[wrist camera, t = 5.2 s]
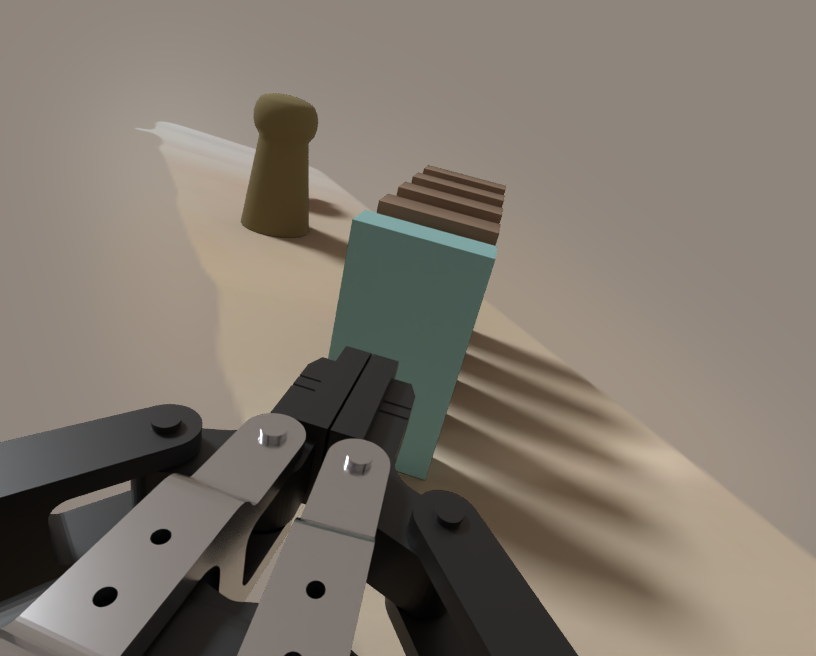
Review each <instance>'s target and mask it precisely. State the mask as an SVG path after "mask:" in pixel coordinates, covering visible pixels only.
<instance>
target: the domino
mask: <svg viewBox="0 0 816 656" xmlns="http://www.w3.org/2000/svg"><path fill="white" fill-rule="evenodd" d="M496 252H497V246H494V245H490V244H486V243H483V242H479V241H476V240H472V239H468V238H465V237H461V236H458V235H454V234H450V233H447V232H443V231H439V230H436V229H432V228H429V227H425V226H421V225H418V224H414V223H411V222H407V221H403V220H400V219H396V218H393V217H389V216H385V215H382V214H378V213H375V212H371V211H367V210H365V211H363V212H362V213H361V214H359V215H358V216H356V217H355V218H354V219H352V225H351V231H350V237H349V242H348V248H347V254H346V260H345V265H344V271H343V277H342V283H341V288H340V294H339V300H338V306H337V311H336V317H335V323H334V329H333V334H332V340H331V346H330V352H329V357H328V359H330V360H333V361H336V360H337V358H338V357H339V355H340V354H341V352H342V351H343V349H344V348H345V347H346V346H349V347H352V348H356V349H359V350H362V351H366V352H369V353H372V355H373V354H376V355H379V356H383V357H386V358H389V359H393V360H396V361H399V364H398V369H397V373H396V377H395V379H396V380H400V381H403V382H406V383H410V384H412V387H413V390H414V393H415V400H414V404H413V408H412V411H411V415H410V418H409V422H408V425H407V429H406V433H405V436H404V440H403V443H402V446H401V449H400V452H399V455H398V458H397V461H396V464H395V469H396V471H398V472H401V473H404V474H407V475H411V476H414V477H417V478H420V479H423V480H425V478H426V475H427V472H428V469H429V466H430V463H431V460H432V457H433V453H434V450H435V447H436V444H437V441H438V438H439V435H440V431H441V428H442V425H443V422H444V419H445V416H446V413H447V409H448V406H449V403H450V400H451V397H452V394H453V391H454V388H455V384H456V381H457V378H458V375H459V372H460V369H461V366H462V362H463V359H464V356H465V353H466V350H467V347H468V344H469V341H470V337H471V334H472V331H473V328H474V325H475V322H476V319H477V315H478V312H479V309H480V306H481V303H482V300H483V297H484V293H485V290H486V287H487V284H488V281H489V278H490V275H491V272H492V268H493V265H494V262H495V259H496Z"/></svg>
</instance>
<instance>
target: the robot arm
mask: <svg viewBox="0 0 816 656" xmlns="http://www.w3.org/2000/svg"><path fill="white" fill-rule="evenodd" d="M398 364H399V361H396V360H393V359H389V358H386V357H383V356H379V355H376V354H373V355H372V353H369V352H366V351H362V350H359V349H356V348H352V347H349V346H346V347H345V348H344V349H343V351H342V352H341V354H340V355H339V357H338V358H337V360H336V361H333V360H330V359H327V358H323V357H322V358H320V359H318V360H316V361H314V362H312V363H310V364H308V365H307V367H306V368H305V369H304V370H303V372H302V373H301V374H300V377H298V378H297V379H296V381H295V382H294V383H293V385H292V386H291V387H290V388H289V390H288V391H287V392H286V393H285V395H284V396H283V397H282V398H281V400H280V401H279V402H278V404H277V405H276V406H275V407H274V409H273V410H272V411H271V413H267V414H261V415H257V416H255V417H252V418H251V419H249V420H248V421H246V422H245V423H244V424H243V425H242V426H241V427H240V428H239V429H238V430H216V429H203V428H202V419H201V417H200V415H199V414H198V413H197V412H196V411H194V410H193V409H191V408H188V407H186V406H182V405H175V404H166V405H158V406H153V407H149V408H144V409H140V410H136V411H132V412H128V413H123V414H119V415H114V416H110V417H106V418H102V419H97V420H94V421H89V422H85V423H81V424H76V425H72V426H68V427H64V428H59V429H55V430H51V431H46V432H42V433H38V434H33V435H29V436H25V437H21V438H16V439H12V440H8V441H4V442H0V656H358V655H357V654H355V653H354V652H353V651H352V650H351V648H352V643H353V639H354V634H355V629H356V625H357V620H358V616H359V611H360V607H361V602H362V598H363V593H364V589H365V584H366V583H368V584H369V585H370V586H372V587H373V588H374V589H376V590H377V591H378V592H380V593H381V594H382V595H384V596H385V605H386V610H387V613H388V615H389V618H390V620H391V622H392V625H393V627H394V629H395V631H396V634H397V636H398V638H399V640H400V643H401V645H402V647H403V650H404V652H405V654H406V656H578V655H577V653H576V652H575V650H574V649H573V648H572V646H571V645H570V643H569V642H568V640H567V639H566V638H565V636H564V635H563V633H562V632H561V630H560V629H559V628H558V626H557V625H556V623H555V622H554V620H553V619H552V618H551V616H550V615H549V613H548V612H547V610H546V609H545V608H544V606H543V605H542V603H541V602H540V601H539V599H538V598H537V596H536V595H535V593H534V592H533V591H532V589H531V588H530V586H529V585H528V583H527V582H526V581H525V579H524V578H523V576H522V575H521V573H520V572H519V571H518V569H517V568H516V566H515V565H514V563H513V562H512V561H511V559H510V558H509V556H508V555H507V553H506V552H505V551H504V549H503V548H502V546H501V545H500V543H499V542H498V541H497V539H496V538H495V536H494V535H493V533H492V532H491V531H490V529H489V528H488V526H487V525H486V523H485V522H484V521H483V519H482V518H481V516H480V515H479V513H478V512H477V511H476V509H475V508H474V507H473V506H472V505H471V504H470V503H469V502H468V501H467V500H466V499H464V498H463V497H461V496H459V495H457V494H455V493H452V492H449V491H444V490H433V491H429V492H426V493H424V494H422V495H420V494H419V493H417V492H415V491H414V490H412V489H411V488H410V487H408V486H407V485H406V484H405V483H404V482H403V481H402V480H401V479H400V477H399V476H398V474H397V472H396V469H395V464H396V461H397V458H398V455H399V452H400V449H401V446H402V443H403V440H404V436H405V433H406V429H407V425H408V422H409V418H410V415H411V411H412V408H413V404H414V400H415V393H414V390H413V387H412V384H410V383H406V382H403V381H400V380H396V379H395V377H396V373H397V369H398ZM129 480H131V491H127V492H124V493H122V494H118V495H115V496H112V497H109V498H106V499H103V500H100V501H97V502H94V503H91V504H88V505H85V506H82V507H79V508H76V509H73V510H70V511H67V512H64V513H60V514H50V513H51V512H52V510H53V509H54V508H55V507H56V506H58V505H59V504H61V503H62V502H64V501H66V500H69V499H72V498H75V497H78V496H82V495H85V494H88V493H91V492H94V491H97V490H100V489H104V488H107V487H110V486H113V485H116V484H119V483H123V482H126V481H129ZM301 503H303V504H306V506H305V508H304V511H303V513H302V516H301V518H298V517H297V518H296V519H295V520H294V522H293V524H292V519H293V517H294V516H295V514H296V512H297V510H298V508H299V506H300V504H301ZM291 524H292V526H291ZM290 528H291V529H290ZM289 530H290V531H289ZM288 532H289V533H288ZM287 534H288V536H287ZM286 536H287V538H286V541H285V543H284V545H283V548H282V550H281V553H280V555H279V557H278V560H277V562H276V564H275V567H274V569H273V571H272V574H271V576H270V579H269V581H268V583H267V586H266V588H265V590H264V593H263V595H262V598H261V600H260V602H259V603H251V602H245V601H246V599H247V597H248V595H249V594H250V592H251V591H252V589H253V587H254V586H255V584H256V583H257V581H258V580H259V578H260V576H261V575H262V573H263V572H264V570H265V568H266V567H267V565H268V564H269V562H270V561H271V559H272V558H273V556H274V554H275V553H276V551H277V550H278V548H279V547H280V545H281V543H282V542H283V540H284V539H285V537H286Z"/></svg>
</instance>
